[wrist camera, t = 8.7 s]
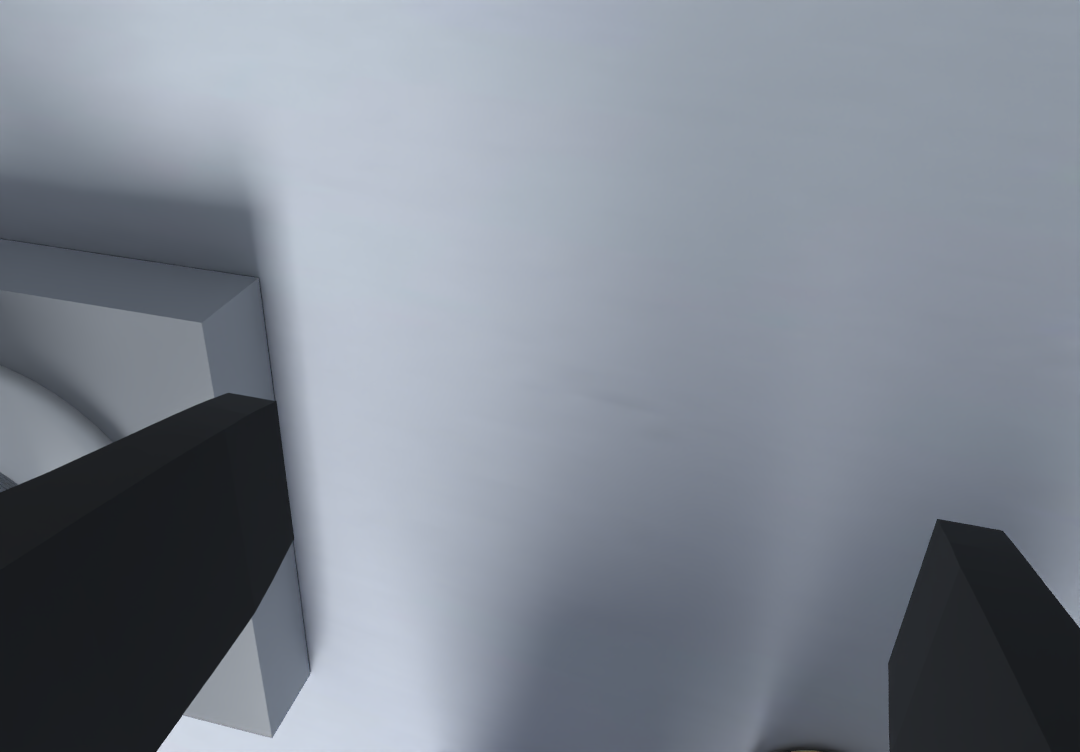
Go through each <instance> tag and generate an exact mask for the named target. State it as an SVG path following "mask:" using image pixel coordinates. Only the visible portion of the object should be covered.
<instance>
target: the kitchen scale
mask: <svg viewBox="0 0 1080 752" xmlns="http://www.w3.org/2000/svg"><path fill="white" fill-rule="evenodd" d="M226 393H233V394H239V395H245V396H250V397H256V398H261V399H267V400H273V401H275V400H274V392H273V384H272V376H271V369H270V361H269V353H268V346H267V338H266V330H265V323H264V315H263V307H262V299H261V292H260V284H259V278H256V277H249V276H243V275H236V274H229V273H223V272H216V271H209V270H203V269H196V268H190V267H183V266H176V265H170V264H163V263H156V262H150V261H143V260H137V259H130V258H123V257H117V256H110V255H103V254H97V253H90V252H84V251H77V250H70V249H64V248H57V247H50V246H44V245H37V244H31V243H24V242H17V241H11V240H4V239H0V472H1V473H2V474H4V475H5V476H7V477H8V478H10V479H11V480H13V481H14V482H15V483H17V484H18V485H19V484H21V483H24V482H26V481H29V480H31V479H33V478H36V477H38V476H40V475H43V474H45V473H47V472H50V471H52V470H54V469H56V468H58V467H61V466H63V465H65V464H67V463H69V462H72V461H74V460H76V459H78V458H80V457H82V456H85V455H87V454H89V453H91V452H93V451H96V450H98V449H100V448H102V447H104V446H107V445H109V444H111V443H113V442H115V441H117V440H120V439H122V438H124V437H126V436H128V435H130V434H133V433H135V432H137V431H139V430H141V429H143V428H146V427H148V426H150V425H152V424H154V423H157V422H159V421H161V420H163V419H165V418H168V417H170V416H172V415H174V414H177V413H179V412H181V411H183V410H186V409H188V408H190V407H193V406H195V405H197V404H200V403H202V402H205V401H207V400H210V399H212V398H215V397H218V396H221V395H223V394H226ZM309 675H310V669H309V662H308V654H307V646H306V639H305V631H304V623H303V615H302V608H301V600H300V592H299V585H298V577H297V569H296V561H295V554H294V546H293V542H292V544H291V546H290V548H289V550H288V552H287V554H286V556H285V558H284V559H283V561H282V563H281V565H280V567H279V569H278V571H277V573H276V575H275V577H274V579H273V581H272V583H271V585H270V587H269V588H268V590H267V592H266V594H265V596H264V597H263V599H262V601H261V603H260V605H259V607H258V608H257V610H256V612H255V614H254V615H253V617H252V618H251V619H250V621H249V622H248V624H247V625H246V627H245V628H244V630H243V631H242V633H241V634H240V635H239V637H238V638H237V640H236V641H235V642H234V644H233V645H232V647H231V648H230V650H229V651H228V652H227V654H226V655H225V657H224V658H223V659H222V661H221V662H220V664H219V665H218V667H217V668H216V669H215V671H214V672H213V674H212V675H211V676H210V678H209V679H208V681H207V682H206V683H205V685H204V686H203V687H202V689H201V690H200V692H199V693H198V694H197V696H196V697H195V699H194V700H193V701H192V703H191V704H190V706H189V707H188V708H187V710H186V711H185V712H184V714H183V715H184V716H188V717H192V718H195V719H199V720H203V721H207V722H211V723H215V724H219V725H223V726H227V727H231V728H235V729H238V730H242V731H246V732H250V733H254V734H258V735H262V736H266V737H270V738H272V737H273V736H274V734H275V732H276V731H277V729H278V727H279V726H280V724H281V722H282V721H283V719H284V717H285V716H286V714H287V712H288V711H289V709H290V707H291V706H292V704H293V702H294V701H295V699H296V697H297V696H298V694H299V692H300V691H301V689H302V687H303V686H304V684H305V682H306V681H307V679H308V677H309Z"/></svg>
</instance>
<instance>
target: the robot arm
mask: <svg viewBox="0 0 1080 752" xmlns="http://www.w3.org/2000/svg"><path fill="white" fill-rule="evenodd" d="M293 540H294V535H293V528H292V520H291V512H290V504H289V497H288V489H287V481H286V473H285V466H284V458H283V450H282V442H281V434H280V427H279V419H278V411H277V403H276V401H273V400H267V399H261V398H256V397H250V396H245V395H239V394H233V393H226V394H223V395H221V396H218V397H215V398H212V399H210V400H207V401H205V402H202V403H200V404H197V405H195V406H193V407H190V408H188V409H186V410H183V411H181V412H179V413H177V414H174V415H172V416H170V417H168V418H165V419H163V420H161V421H159V422H157V423H154V424H152V425H150V426H148V427H146V428H143V429H141V430H139V431H137V432H135V433H133V434H130V435H128V436H126V437H124V438H122V439H120V440H117V441H115V442H113V443H111V444H109V445H107V446H104V447H102V448H100V449H98V450H96V451H93V452H91V453H89V454H87V455H85V456H82V457H80V458H78V459H76V460H74V461H72V462H69V463H67V464H65V465H63V466H61V467H58V468H56V469H54V470H52V471H50V472H47V473H45V474H43V475H40V476H38V477H36V478H33V479H31V480H29V481H26V482H24V483H21V484H19V485H17V486H14V487H12V488H10V489H7V490H5V491H2V492H0V752H156V751H157V750H158V749H159V747H160V746H161V744H162V743H163V742H164V740H165V739H166V737H167V736H168V735H169V733H170V732H171V731H172V729H173V728H174V726H175V725H176V724H177V722H178V721H179V719H180V718H181V717H182V715H183V714H184V712H185V711H186V710H187V708H188V707H189V706H190V704H191V703H192V701H193V700H194V699H195V697H196V696H197V694H198V693H199V692H200V690H201V689H202V687H203V686H204V685H205V683H206V682H207V681H208V679H209V678H210V676H211V675H212V674H213V672H214V671H215V669H216V668H217V667H218V665H219V664H220V662H221V661H222V659H223V658H224V657H225V655H226V654H227V652H228V651H229V650H230V648H231V647H232V645H233V644H234V642H235V641H236V640H237V638H238V637H239V635H240V634H241V633H242V631H243V630H244V628H245V627H246V625H247V624H248V622H249V621H250V619H251V618H252V617H253V615H254V614H255V612H256V610H257V608H258V607H259V605H260V603H261V601H262V599H263V597H264V596H265V594H266V592H267V590H268V588H269V587H270V585H271V583H272V581H273V579H274V577H275V575H276V573H277V571H278V569H279V567H280V565H281V563H282V561H283V559H284V558H285V556H286V554H287V552H288V550H289V548H290V546H291V544H292V542H293ZM888 669H889V741H890V752H1080V628H1079V627H1078V625H1077V624H1076V623H1075V622H1074V620H1073V619H1072V618H1071V617H1070V615H1069V614H1068V613H1067V611H1066V610H1065V609H1064V608H1063V606H1062V605H1061V604H1060V603H1059V601H1058V600H1057V599H1056V598H1055V596H1054V595H1053V594H1052V592H1051V591H1050V590H1049V589H1048V587H1047V586H1046V585H1045V583H1044V582H1043V581H1042V580H1041V578H1040V577H1039V576H1038V574H1037V573H1036V572H1035V571H1034V569H1033V568H1032V567H1031V565H1030V564H1029V563H1028V562H1027V560H1026V559H1025V558H1024V556H1023V555H1022V554H1021V553H1020V551H1019V550H1018V549H1017V548H1016V546H1015V545H1014V544H1013V543H1012V541H1011V540H1010V539H1009V538H1008V537H1007V535H1006V534H1005V533H1004V532H1003V531H1001V530H996V529H990V528H984V527H979V526H973V525H968V524H962V523H956V522H951V521H945V520H940V519H937V521H936V524H935V527H934V530H933V533H932V536H931V539H930V542H929V545H928V548H927V551H926V554H925V557H924V560H923V563H922V566H921V569H920V572H919V575H918V577H917V580H916V583H915V586H914V589H913V592H912V595H911V598H910V601H909V604H908V607H907V610H906V613H905V616H904V619H903V622H902V625H901V628H900V631H899V634H898V636H897V639H896V642H895V645H894V648H893V651H892V654H891V657H890V660H889V663H888Z"/></svg>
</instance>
